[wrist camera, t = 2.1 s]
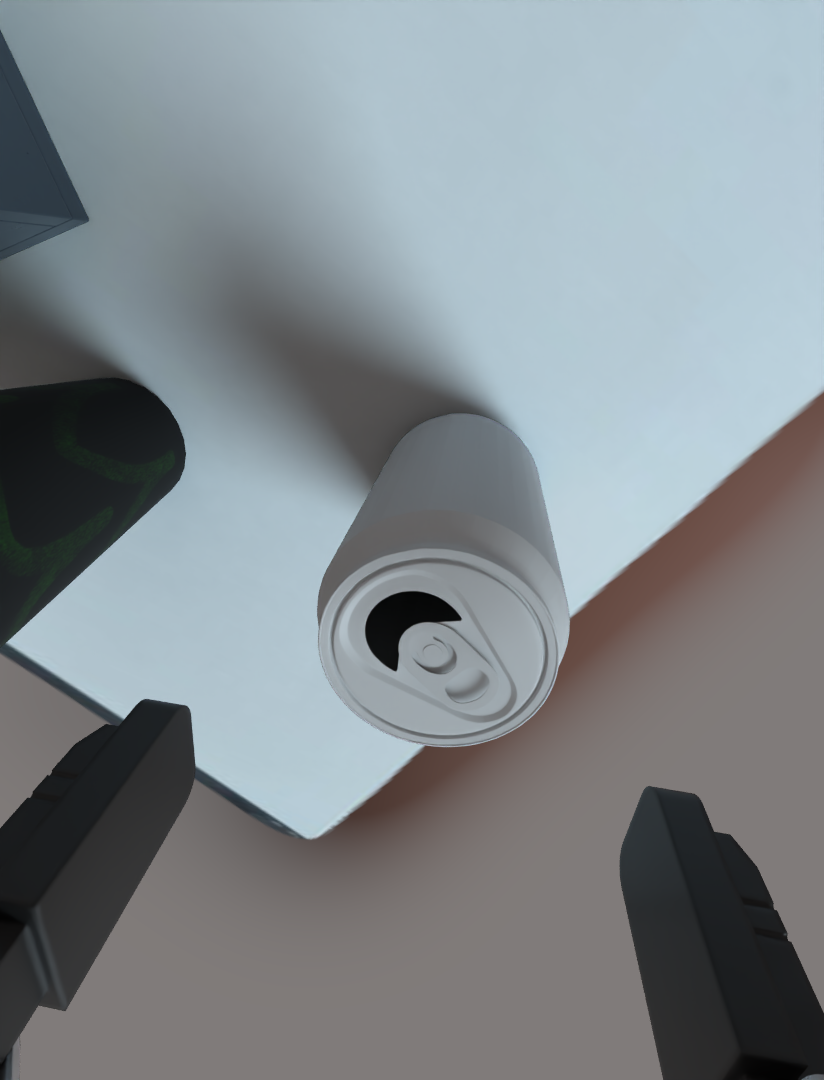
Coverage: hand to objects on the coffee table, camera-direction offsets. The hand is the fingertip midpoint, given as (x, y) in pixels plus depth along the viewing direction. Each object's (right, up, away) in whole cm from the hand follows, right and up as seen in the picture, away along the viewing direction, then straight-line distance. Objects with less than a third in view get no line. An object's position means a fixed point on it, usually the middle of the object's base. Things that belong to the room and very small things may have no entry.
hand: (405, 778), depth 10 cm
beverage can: (+2, +7, +14) cm, 16 cm away
